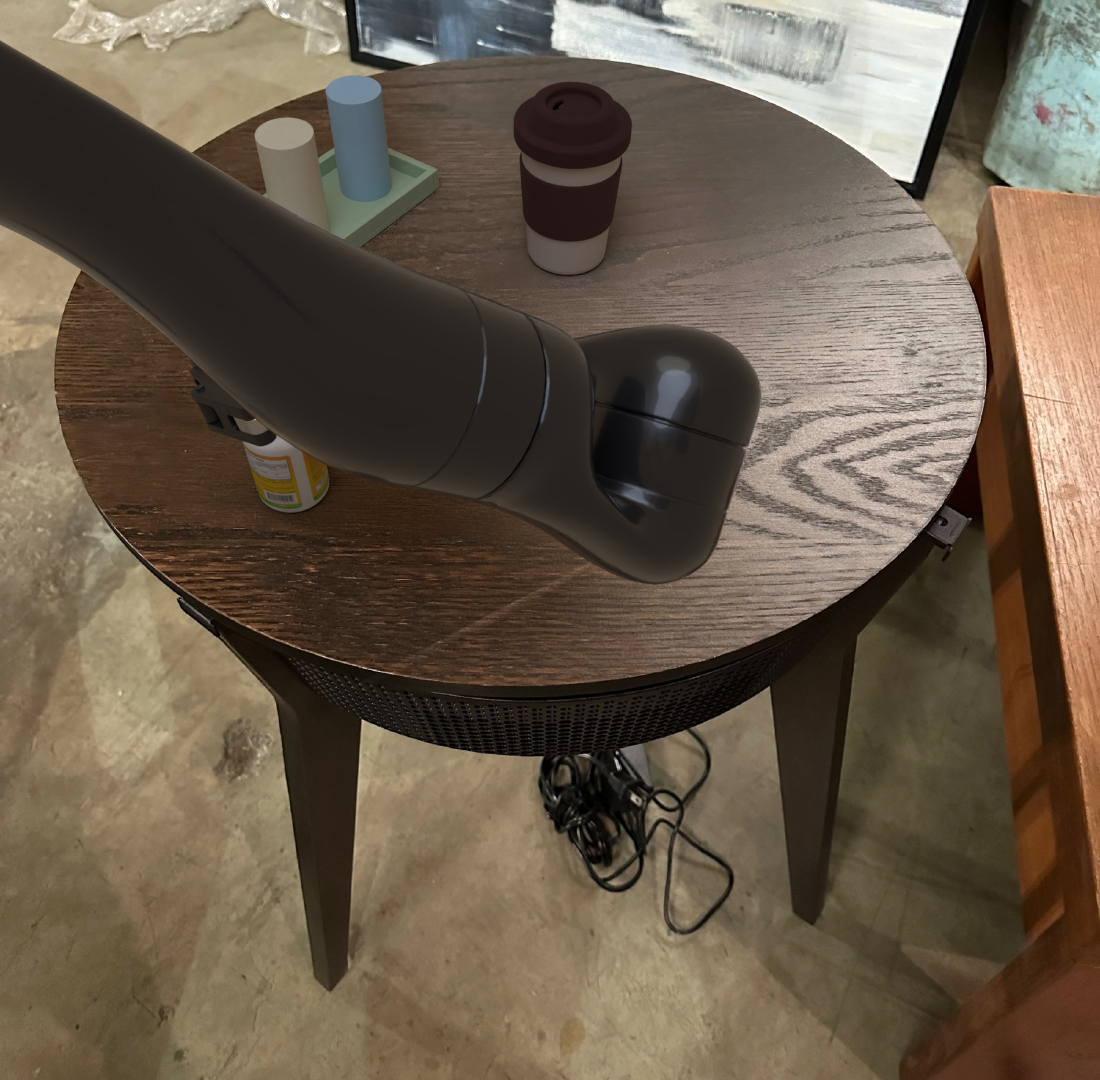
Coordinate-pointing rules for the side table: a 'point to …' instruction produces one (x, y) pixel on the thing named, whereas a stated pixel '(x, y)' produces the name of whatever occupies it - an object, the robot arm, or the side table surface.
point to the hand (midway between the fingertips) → (257, 337)
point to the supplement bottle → (287, 476)
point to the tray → (374, 216)
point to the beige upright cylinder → (292, 168)
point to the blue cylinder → (359, 137)
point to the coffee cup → (570, 173)
